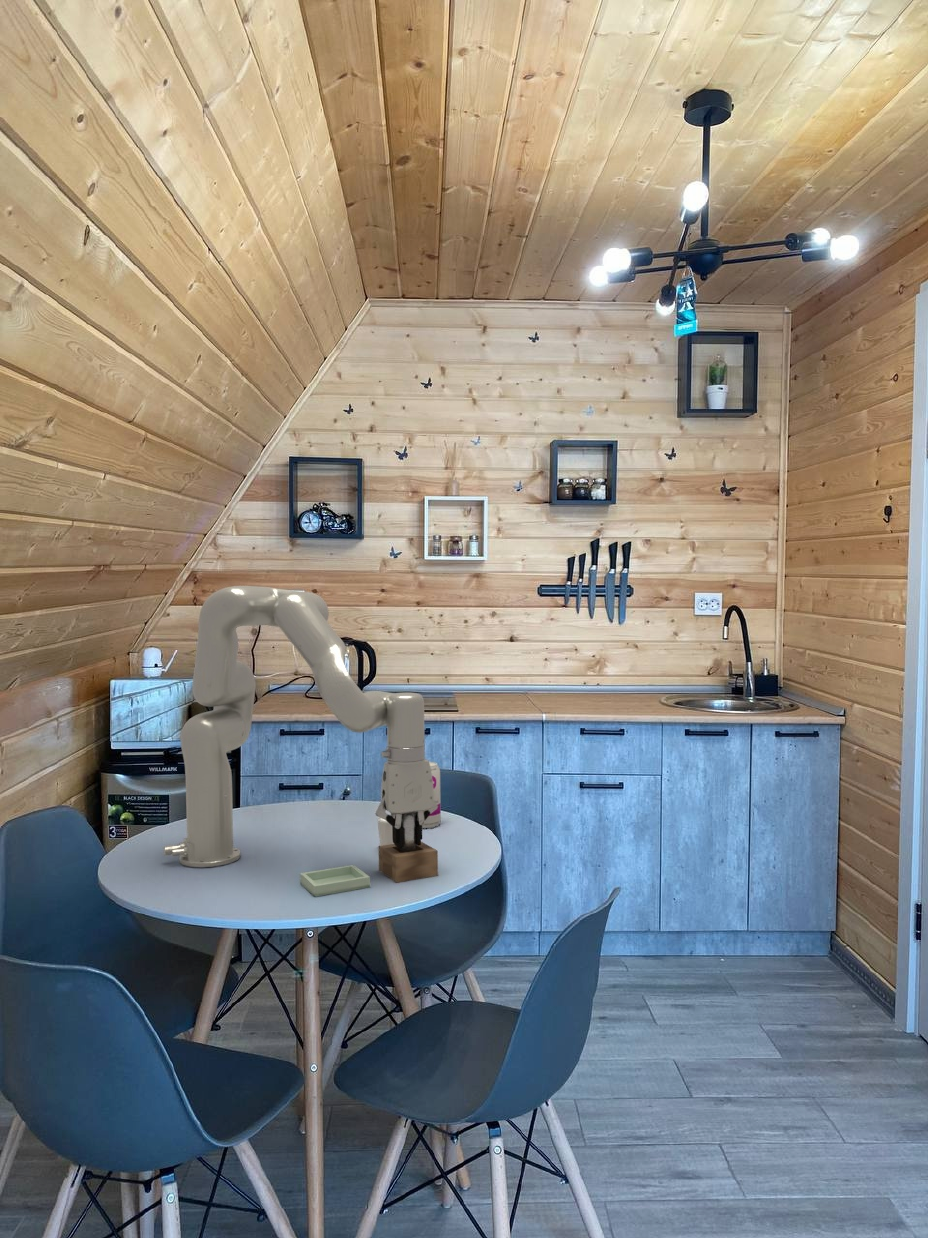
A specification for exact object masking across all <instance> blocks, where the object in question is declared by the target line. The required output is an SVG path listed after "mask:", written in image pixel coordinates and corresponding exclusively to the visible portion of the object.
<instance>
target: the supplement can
mask: <svg viewBox="0 0 928 1238" xmlns="http://www.w3.org/2000/svg"><path fill="white" fill-rule="evenodd" d="M429 763H430V768H431V773H432V780H433V789H434V800H435V802H436V804H437V806H438V808H437V809H436V810H435V811H434V812H432V813H431V814H430V815H429V816H428V818H427V819H426V820H425V823H424V824H423V825H422V828H427V829H432V827H433V828H436V827H438V826H439V824H440V823H441V822H442V817H441V816H442V815H441V812H442V811H441V809H442V808H441V806H442V805H441V769H440V767H439V765H438V763H437V762H433V761H429ZM435 826H436V827H435Z"/></svg>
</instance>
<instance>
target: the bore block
mask: <svg viewBox="0 0 928 1238" xmlns="http://www.w3.org/2000/svg"><path fill="white" fill-rule="evenodd" d="M438 857H439V855H438V849H435V848H433V847H432V846H430V845H428V844H426V843H424V842H423V841H421V845H416V851H412V852H406V853H400V848H399V847H397V846H395V844H389V845H383V846H380V845H379V846H378V871H379V872H380V873H382V874H383V875H384V876H387V877H388V878H389V879H390V880H392V881H393V882H395V883H397V884H398V883H402V882H407V881H414V880H419V879H424V878H425V879H426V878H432V877H436V876H438V875H439V871H438V870H439V868H438V867H439V865H438V864H439V863H438V862H439V859H438Z"/></svg>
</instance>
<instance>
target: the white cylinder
mask: <svg viewBox="0 0 928 1238" xmlns="http://www.w3.org/2000/svg"><path fill="white" fill-rule="evenodd" d="M376 819H377V827H378V838H379V846H383V845H389V844H394V843H393V838H392V826H391V825H390V824H389V823H388V822H387V821H386V820H384V819H382V818H380V817H378V818H376Z"/></svg>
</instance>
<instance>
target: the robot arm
mask: <svg viewBox="0 0 928 1238" xmlns="http://www.w3.org/2000/svg"><path fill="white" fill-rule="evenodd" d="M329 611H330V610H329V608H328V604H327V603H326V601H325V600H324V598H322V597H321V596H320V595H319V594H316V593H314V592H308V591H298V590H291V589H290V590H289V589H283V588H278V587H277V588H275V587H268V586H260V585H259V586H255V585H254V586H253V585H234V586H232V585H231V586H228V587H227V586H226V587H224V588H220V589H219V590H216V591H215V592H213V593H211V594H210V596H208V597H206V599H205V600H204V602H203V604H202V606H201V609H200V611H199V616H198V632H197V633H198V634H197V645H196V650H195V658H194V669H193V677H192V695H193V698H194V699H195V700H196V702H197V703H198V704H199V705H202V706H204V707H207V708H209V707H213V710H209V711H206V712H200V713H199V714H195V715H194V716H192V717H191V718H189V719H188V720H187V721H186V722H185V723H184V725H183V727H182V729H181V731H180V739H179V740H180V741H179V742H180V748H181V752H182V758H183V762H184V773H185V774H184V776H185V802H186V803H185V804H186V811H185V812H186V837H185V838H183V842H179V844H174V845H173V844H171V845H169V844H168V845H164V846H163V854H164V856H171V855H172V856H171V857H177V856H179V863H180V864H181V865H183V866H186V867H190V868H211V867H212V868H213V867H219V866H224V865H229V864H231V863H235V862H236V861H238V860H239V859H240V858H241V856H242V855H241V854H242V853H241V852H242V851H241V850H240V849H239V848H237V847H234V824H233V821H234V820H233V819H234V817H233V814H234V812H233V776H232V768H231V765H230V761H229V759H228V756H227V752H230V751H234V750H236V749H238V748H240V747H242V746H243V745H244V744H245V743H246V741H247V740H248V738H249V735H250V733H251V729H252V723H253V722H252V721H253V713H254V703H255V694H256V680H255V676H254V672H253V671H252V669H251V667H250V666H249V665H248V664H246V663H245V662H243V661H241V660H238V654H239V638H238V634H237V628H239V627H245V626H249V627H251V626H252V627H253V626H254V627H255V626H269V627H277V628H279V629H280V630H281V631H282V633H283V634H284V635H285V637H286V638H287V639H288V640H289V641H290V643H291V644H292V646H294V648H295V649H296V650H297V652H298V653H299V654H300V656H301V657H302V659H303V660H304V661H305V662H306V664H307V665H308V666H309V668H310V669H311V672H312V676H313V680H314V682H315V684H316V688H317V691H318V692H319V695H320V696H321V698H322V700H323V702H324V703H325V704H326V706H327V708H328V709H329V710H330V711H331V713H332V714H333V715H334V716H335V718H336V719H337V720H338V721H339V722H340V723H341V724H342V725H343V727H345V728H346V729H348V730H349V731H351V732H353V733H358V734H359V733H360V734H362V733H365V732H368V731H371V730H373V729H378V728H380V727H385V726H386V734H387V735H386V736H387V737H386V738H387V739H386V742H387V745H386V749H385V750H382V751H381V752H380V755H381V756H380V757H381V758H382V759H384V758H385V759H386V760H387V761H385V762H384V764H383V770H382V776H381V784H380V785H381V789H380V803H379V805H378V806H377V809H376V811H375V813H374V814H375V816H377V817H378V818H379V817H380V818H382V819H384V820H386V821H387V822H388V823H389V824H390V825H391V826H392V838H393V843H394V844H395V846H397V847H399V848H403V847H404V843H403V828H401V817H402V814H404V813H411V812H415V838H416V845H421V842H422V840H423V829H422V825H423V824H424V823H425V820H426V819H427V818H428V816H429V815H430V814H431V813H432V812H434V811H435V810H436V809H437V808H438V806H437V804H436V802H435V800H434V789H433V780H432V773H431V768H430V763H429V762H430V760H429V759H426V749H425V748H426V746H425V744H426V743H425V700H424V697H423V695H422V694H421V693H419V692H418V693H417V692H396V693H395V692H389V691H383V690H369V691H366V692H363V691H362V690H361V688H360V687H359V686H358V685H357V684H356V682H355V681H354V679H353V678H352V677H351V675H350V673H349V671H348V669H347V667H346V662H345V655H346V644H345V642H344V641H343V640H342V639H341V637H340V636H339V635H338V634H337V632H336V631H335V630H334V629H333V627H332V626H331V624H330V623H329V622H328V620H329V616H330V615H329V614H330V612H329ZM386 811H387V812H389V813H390V814H388V813H387V812H386Z"/></svg>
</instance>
